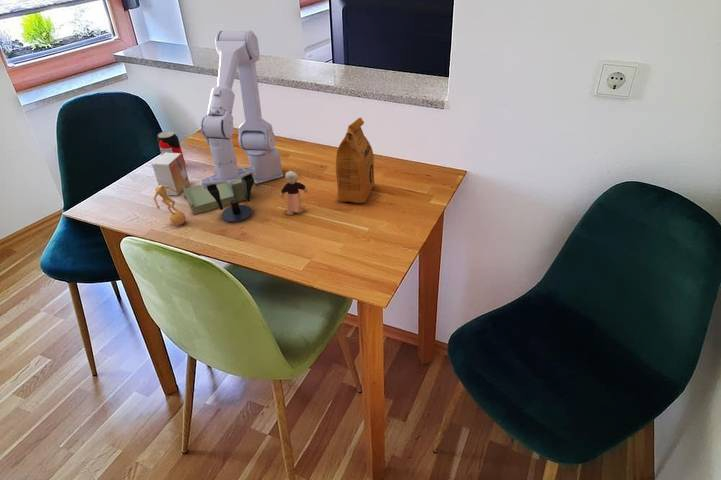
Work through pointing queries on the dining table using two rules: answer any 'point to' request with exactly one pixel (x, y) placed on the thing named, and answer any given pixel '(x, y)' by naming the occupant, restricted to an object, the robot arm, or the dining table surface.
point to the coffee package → (354, 165)
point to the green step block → (206, 201)
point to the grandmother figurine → (293, 193)
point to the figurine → (175, 216)
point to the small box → (171, 172)
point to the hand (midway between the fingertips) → (234, 204)
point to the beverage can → (169, 143)
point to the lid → (236, 212)
